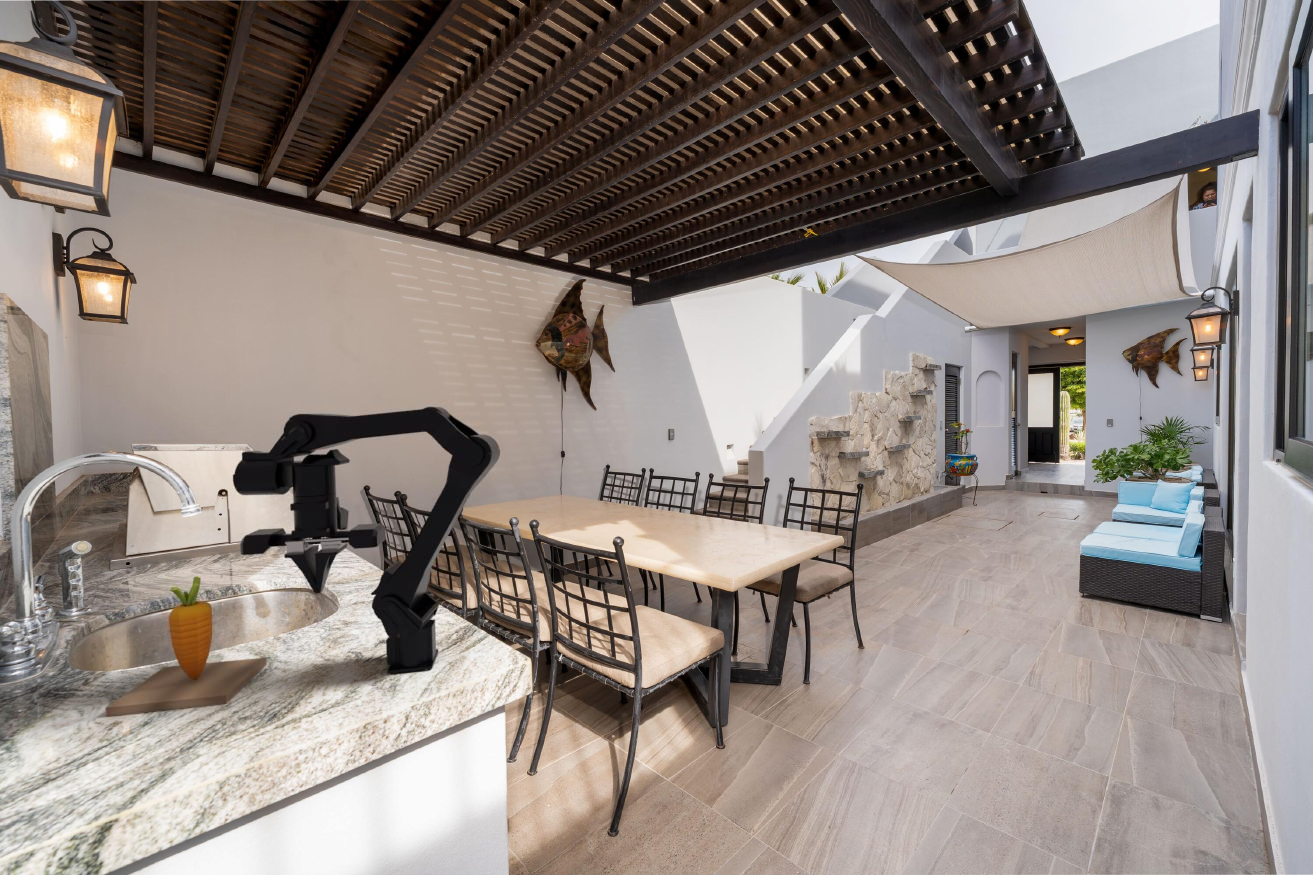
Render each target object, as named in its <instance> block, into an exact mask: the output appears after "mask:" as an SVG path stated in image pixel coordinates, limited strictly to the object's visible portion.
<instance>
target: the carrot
mask: <svg viewBox="0 0 1313 875" xmlns="http://www.w3.org/2000/svg"><path fill="white" fill-rule="evenodd" d="M192 579H193V580H192V586H191V588H190V589H189V592H188V591H187V590H184V592H183V591H182V589H181V588H179V587H178V586H172V587H171V588H170V589H169V590H170V591H171V592H172V593H173V594H175V595H176V597H177V598H178V600H179V601H180V602H181V604H179V605H176V606H175V607H174V608H173V609H171V611H170V613H169V615H168V624H169V625H168V626H169V633H170V634H169V635H170V639H171V644H172V648H173V649H172V650H173V652H174V654H175V658H176V661H177V663H178V666H181V668H182V670H183V671H184V672H185V673H186V674H187V675H188V677H189V678H191V679H193V680H197V679H198V678H199V677H200V675H201V673H202V671H203V669H204V667H205V664H206V663H207V661H208V658H209V656H210V650H211V645H212V640H213V639H212V636H213V612H212V611H213V610H212V608H213V607H212V605H211V603H210V602H208V601H202V600H201V601H200V600H199V601H198V600H197V598H198V595H199V591H200V585H201V577H199V576H193V578H192Z"/></svg>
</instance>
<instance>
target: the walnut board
mask: <svg viewBox="0 0 1313 875" xmlns="http://www.w3.org/2000/svg"><path fill="white" fill-rule="evenodd" d="M267 661H268V660H267V657H258V658H248V659H236V660H226V661H216V662H215V661H214V662H213V661H212V662H206V664H205V667H204V669H203V671H202V673H201V675H200V677H199V678H198V679H197V680H193V679H191V678H189V677H188V675H187V674H186V673H185V672H184V671H183V670H182V668H181V666H180V665H174V666H173V665H172V666H164V667H162V668H160V669H159V670H158V671H156V672H155V673H153V674H152V675H151V676H149V677H148V678H146V679H145V680H143V681H141V682H140V684H138V685H136V686H135V687H134V688H132V689H131V690H130V691H128V692H126V693H125V694H124V695H122V696H121V697H119V698H118V699H117V700H115V701H113V702H112V703H110V704H109V705H108V706H107V707H105V715H106V716H105V717H116V716H123V715H124V716H125V715H130V714H131V715H132V714H135V715H136V714H141V713H152V712H160V711H161V712H163V711H168V710H169V711H170V710H179V709H181V710H182V709H187V708H188V709H189V708H196V707H198V708H199V707H207V706H216V705H223V704H224V705H225V704H228V703H229V702H230V701H231V700H232V699H233V697H235V696H237V695H238V693H239V692H240V691H241V690H242V689H243V688H244V687H246V685H247V684H249V682H251V680H253V679H254V678H255V677H256V676H257V675H258V674H259V673H260V672H261V671H262V670H263V669H264V668H265V667H266V666H268V665H267V664H268V663H267Z"/></svg>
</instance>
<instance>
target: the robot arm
mask: <svg viewBox="0 0 1313 875" xmlns="http://www.w3.org/2000/svg"><path fill="white" fill-rule="evenodd" d="M415 433H416V434H417V433H427V434H428V435H429V436H431V437H432V438H433V439H434V440H435V442H437V444H438V445H440V447H441V448H442V449H444V451H445V452H447V453H448V454H450V455H451V458H450V461H449V464H448V469H447V475H446V480H445V481H446V482H445V484H444V487H443V488H442V490H441V492H440V494H439V495H438V498H437V499H436V501H435V503H434V506H433V507H432V509H431V511H430V512H429V514H428V517H427V518H426V520H425V521H424V524H423V526H422V528H420V531H419V533H418V535H417V537H416V538H415V540H414V542H413V544H412V546H411V548H410V550H409V552H408V553H407V555H406V557H405V559H404V561H403V562H402V561H400V560H398V561H396V562H395V563H393V564H392V565H390V566H389V567H388V568H386V569H385V570H384V571H383V572H382V574H381V576H380V579H379V583H378V585H377V587H376V588H375V589H374V590H373V591H372V592H371V593H370V595H371V596H374V597H373V598H372V601H371V609H372V610H373V613H374V615H375V616H376V617H377V619H378V620H380V622H381V623H382V626H383V629H384V630H385V631H384V632H385V633H386V636H387V638H386V640H385V645H386V646H385V649H386V650H385V651H386V664H387V666H389V667H388V668H387V674H396V673H397V674H398V673H406V672H407V673H408V672H416V671H425V670H427V671H428V670H431V669H433V668H434V665H435V662H436V659H437V657H438V654H439V649H437V640H436V639H437V636H436V635H437V634H436V619H433V617H434V616H435V617H436V615H437V612H438V609H439V606H440V602H438V600H436V599H435V598H434V597H433V596H432V595H431V594H429V593H428V592H427V589H428V585H429V583H430V577H431V576H430V575H431V570H432V566H433V564H434V563H435V561H436V558H437V556H438V555H439V552H440V551H441V550H442V547H443V546H444V544H445V542H446V539H448V536H449V534H450V532H451V531H452V529H453V528H454V525H455V524H456V521H457V520H458V517H459V516H460V514H461V512H462V510H463V509H464V506H465V505H466V503H467V502H468V499H469V497H470V496H471V493H472V492H473V491H474V490H475V488H476V487H477V486H479V484H480V483H481V482H482V481H483V480H484V478H485V477H486V476H487V475H488V474H489V472H490V471H492V469H493V467H494V466H495V465H496V464H497V462H498V461H499V459H500V455H501V450H500V446H499V444H498V441H496V440H495V438H493V437H492V436H491V435H487V434H480V433H478V432H477V431H476V430H474V429H473V428H472V427H471V426H469V425H467V424H465V423H464V422H462V421H461V420H460V419H458V418H456V417H455V416H453V415H452V414H451V413H450V412H448V410H447V409H446V408H444V407H442V406H426V407H424V408H420V409H409V410H402V411H401V410H400V411H393V412H392V411H391V412H383V413H382V412H381V413H371V414H362V415H361V414H360V415H348V414H347V415H346V414H337V413H335V414H333V413H298V414H294V415H291V416H289V418H288V420H287V421H286V422H285V424H284V427H283V433H282V435H280V437H279V438H278V440H277V441H276V442H275V443H274V445H273V447H272V448H271V449H270V451H266V452H265V451H260V450H249V451H243V452H242V453H241V460H240V461H239V462H238V463H237V464H236V467H235V470H234V473H233V474H232V482H233V486H234V489H235V491H236V492H237V493H238V494H239V495H241V496H269V495H271V496H272V495H273V496H274V495H276V496H277V495H278V496H279V495H286V494H287V493H288V492H289V491H290V489H291V488H292V500H293V501H292V503H290V511H293V523H294V524H293V526H294V529H292V531H291V533H287V532H286V531H285V529H284V528H283V527H280V528H279V527H278V528H262V529H261V528H259V529H257V530H254V531H253V532H250V533H248V534H246V535H244V537H243V538H242V539H241V541H240V545H239V546H240V555H242V556H251V555H252V556H253V555H264V554H265V553H267V551H269V549H270V548H271V547H272V548H273V547H274V548H275V547H286V548H285V549H286V553H284V554H283V555H284V558H285V559H291V561H292V562H293V564H294V565H296V567H297V568H298V569H299V571H300V572H301V573H302V574H303V576H304V578H305V580H306V581H307V583H308V584H309V587H310V588H311V589H312V591H313V593H314V594H321V593H323V591H324V588H325V585H326V583H327V580H328V577H329V573H330V571H331V567H332V565H333V563H334V561H335V559H336V557H337V555H339V554H340V553H341V552H343V551H344V550H346V548H348V545H349V546H350V547H351V548H353V550H355V549H357V550H359V549H372V548H378V547H379V546H380V545H381V544H383V542H384V541H385V540H386V539H387V537H386V527H385V526H384V525H383V524H382V523H380V522H379V523H365V524H364V523H361V524H357V525H356V526H354V527H353V528H351V529H350V530H348V527H349V512H350V511H349V510H348V509H346V508H344V507H341V506H340V500H339V496H337V486H336V485H337V484H336V481H337V480H336V466H340V465H346V464H349V463H351V462H350V461H351V460H350V458H348V457H347V456H345V455H344V454H343V453H341V452H340V450H339V449H337V448H335V449H331V448H334V447H337V446H341V445H345V444H348V443H351V442H353V441H357V440H361V439H369V438H370V439H371V438H378V437H380V438H381V437H389V436H397V435H399V436H400V435H407V434H415ZM326 449H329V451H328V452H327V453H320V454H319V453H318V454H317V453H315V452H316V451H319V450H326ZM314 453H315V454H314ZM304 456H305V457H304ZM296 457H297V458H298V457H304V458H303V459H302V460H295V458H296ZM319 547H321V549H319Z"/></svg>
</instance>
